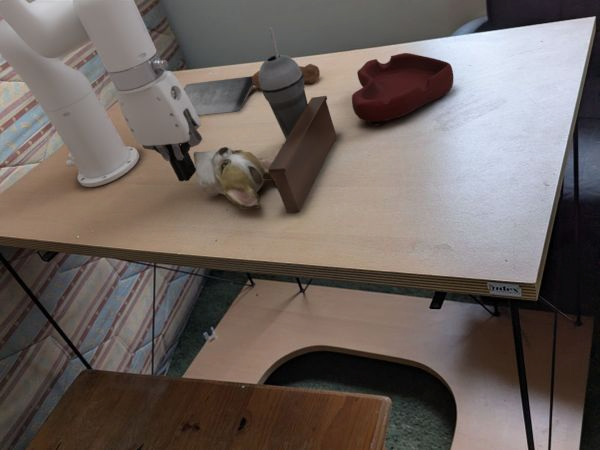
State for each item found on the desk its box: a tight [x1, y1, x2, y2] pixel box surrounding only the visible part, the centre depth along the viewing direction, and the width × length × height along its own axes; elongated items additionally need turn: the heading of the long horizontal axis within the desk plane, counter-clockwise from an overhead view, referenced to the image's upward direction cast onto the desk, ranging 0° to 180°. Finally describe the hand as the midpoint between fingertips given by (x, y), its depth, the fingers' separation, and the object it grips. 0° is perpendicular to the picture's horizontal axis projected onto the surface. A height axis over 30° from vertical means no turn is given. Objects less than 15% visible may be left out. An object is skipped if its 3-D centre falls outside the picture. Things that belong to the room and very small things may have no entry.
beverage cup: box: [258, 27, 309, 140], centre depth 89 cm, size 7×7×20 cm
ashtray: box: [351, 52, 455, 126], centre depth 94 cm, size 18×16×5 cm
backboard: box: [268, 95, 338, 213], centre depth 84 cm, size 3×20×8 cm, turn 161°
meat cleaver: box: [183, 63, 321, 116], centre depth 117 cm, size 34×11×4 cm, turn 69°
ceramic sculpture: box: [193, 146, 274, 210], centre depth 85 cm, size 11×9×15 cm
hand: (188, 176), depth 90 cm, fingers closed
